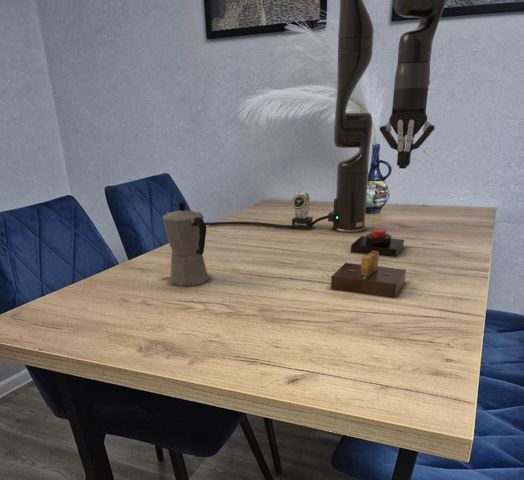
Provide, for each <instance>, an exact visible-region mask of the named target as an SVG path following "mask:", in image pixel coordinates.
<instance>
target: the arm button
mask: <svg viewBox="0 0 524 480" xmlns="http://www.w3.org/2000/svg"><path fill="white" fill-rule="evenodd" d="M371 233H372V237H376V238H383V237H385V236H386V234H387V230H386V229H383V228H375V229H372V230H371Z"/></svg>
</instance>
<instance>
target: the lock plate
mask: <svg viewBox="0 0 524 480" xmlns="http://www.w3.org/2000/svg"><path fill="white" fill-rule="evenodd" d="M406 274H407V269H404V268H403V269H402V268H393V267H385V266H378V270H377V271H375V272H373V273H372V274H370V275H368V276H364V275H361V263H360V264H359V263H350V262H345V263H343V265H341V266H340V267H339V268H338V269H337V270H336V271H334V272H333V274H332V275H331V276H330V277H331V279H330V289H331V290H337V291H344V292H352V293H360V294H366V295H374V296H379V297H388V298H396V297H397V295H398V294H399V292H400V290H401V289H402V287H403V286H404V284H405V282H406Z"/></svg>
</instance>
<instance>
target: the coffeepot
mask: <svg viewBox="0 0 524 480" xmlns="http://www.w3.org/2000/svg"><path fill="white" fill-rule="evenodd" d="M177 206H178V209H179V210H175V211H170V212H166V213H165V214H164V215H161V217H162V221H163V225H164V228H165V232H166V237H167V240H168V243H169V247H170V248H171V254H170V257H171V258H170V274H169V275H170V277H169V278H170V282H171V284H173V285H175V286H179V287H192V286H199V285H201V284H204V283H206V282H207V281H208V280H209V275H208V270H207V267H206V263H205V259H204V256H203V255H204V253H205V245H206V238H207V237H206V236H207V225H205V223H206V222H205V221H204V214H203V213H201V212H199V211H194V210H188V209H185V207H186V202H184V201H179V202H177Z"/></svg>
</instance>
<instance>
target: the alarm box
mask: <svg viewBox="0 0 524 480" xmlns="http://www.w3.org/2000/svg"><path fill="white" fill-rule="evenodd" d="M404 244H405V239H401V238H392V235H391V234H390V233H386V236H385V237H383V238H376V237H372V232H370V233H367V234H366V235H361V236H360V237H359V238H357V239H356V240H355V241H354V242H352V244H351V245H350V253H353V254H360V255H367V254H369V253H371V251H378V252H379V257H391V258H396V257H397V256H398V255H399V253H400V252H401V251H402V250H403V249H404V247H405V246H404Z"/></svg>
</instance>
